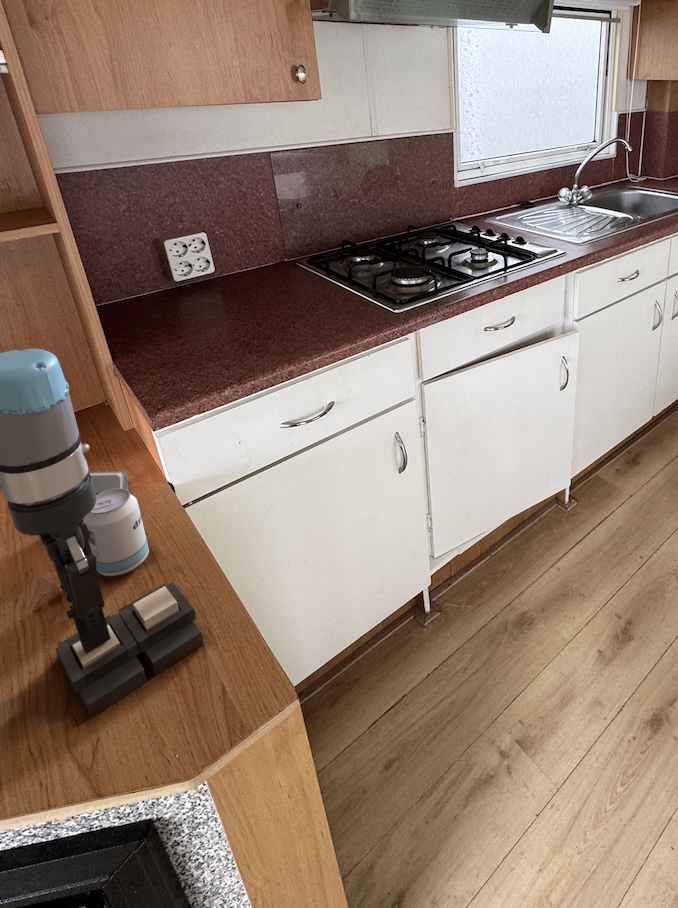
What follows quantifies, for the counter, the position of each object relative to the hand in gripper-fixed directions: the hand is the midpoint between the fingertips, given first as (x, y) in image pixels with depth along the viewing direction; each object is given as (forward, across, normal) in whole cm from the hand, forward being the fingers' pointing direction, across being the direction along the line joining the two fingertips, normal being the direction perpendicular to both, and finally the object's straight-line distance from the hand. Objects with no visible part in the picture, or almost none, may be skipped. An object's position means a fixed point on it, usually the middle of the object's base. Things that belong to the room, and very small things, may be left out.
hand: (96, 642), depth 72 cm
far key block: (+5, 0, -7) cm, 8 cm away
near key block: (+5, 0, 0) cm, 5 cm away
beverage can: (+5, +17, -8) cm, 20 cm away
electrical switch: (+5, +31, -9) cm, 33 cm away
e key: (+1, 0, -7) cm, 7 cm away
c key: (+2, 0, 0) cm, 2 cm away
